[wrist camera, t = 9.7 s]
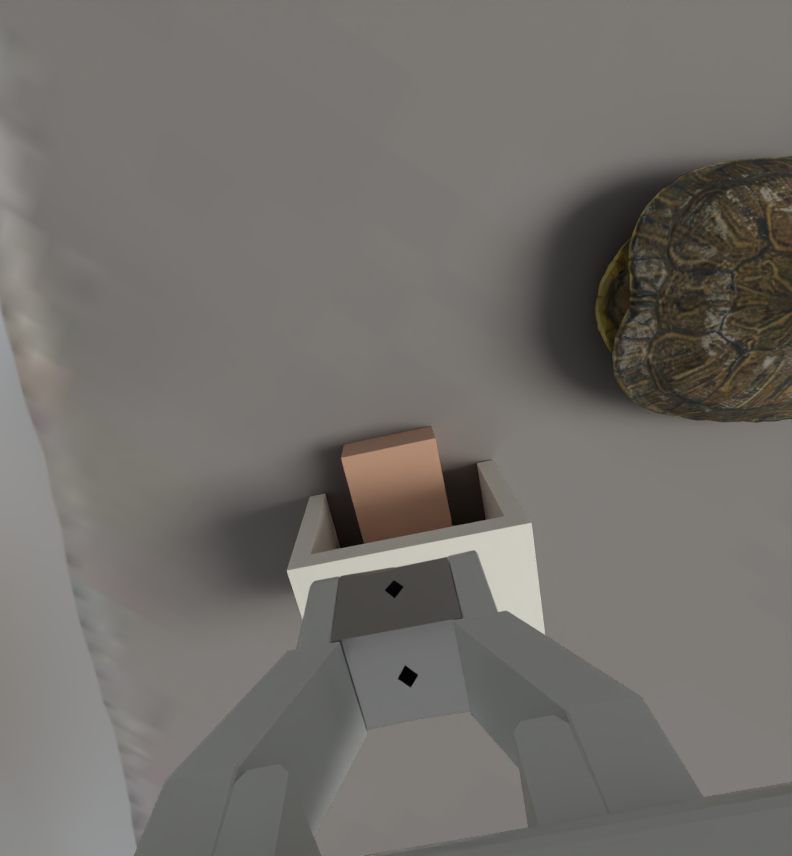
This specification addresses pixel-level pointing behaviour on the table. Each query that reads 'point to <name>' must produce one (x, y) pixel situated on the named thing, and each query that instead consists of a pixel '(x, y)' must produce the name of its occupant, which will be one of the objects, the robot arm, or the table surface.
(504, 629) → the robot arm
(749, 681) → the table surface
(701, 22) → the table surface
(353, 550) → the white storage bin
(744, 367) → the turtle shell
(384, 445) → the tan rectangular block
